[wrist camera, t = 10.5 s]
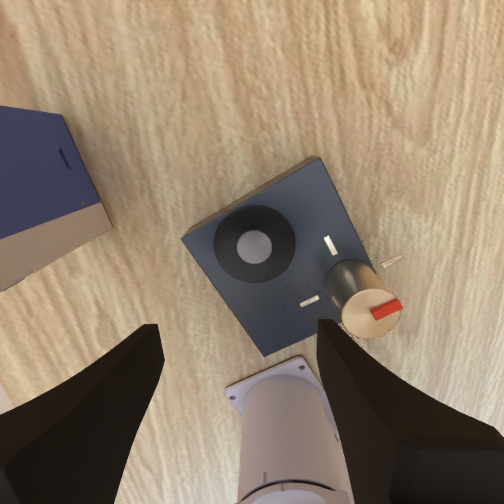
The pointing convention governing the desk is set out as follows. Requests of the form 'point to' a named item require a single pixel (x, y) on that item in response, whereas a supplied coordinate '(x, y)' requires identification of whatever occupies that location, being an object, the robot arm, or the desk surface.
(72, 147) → the walkman
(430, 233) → the desk surface
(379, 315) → the knob
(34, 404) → the robot arm
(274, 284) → the hot plate
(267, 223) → the burner
